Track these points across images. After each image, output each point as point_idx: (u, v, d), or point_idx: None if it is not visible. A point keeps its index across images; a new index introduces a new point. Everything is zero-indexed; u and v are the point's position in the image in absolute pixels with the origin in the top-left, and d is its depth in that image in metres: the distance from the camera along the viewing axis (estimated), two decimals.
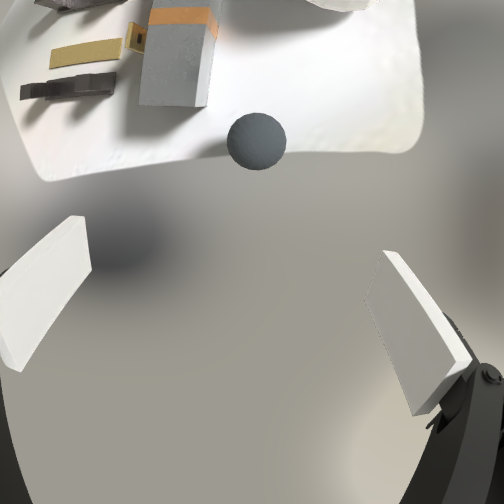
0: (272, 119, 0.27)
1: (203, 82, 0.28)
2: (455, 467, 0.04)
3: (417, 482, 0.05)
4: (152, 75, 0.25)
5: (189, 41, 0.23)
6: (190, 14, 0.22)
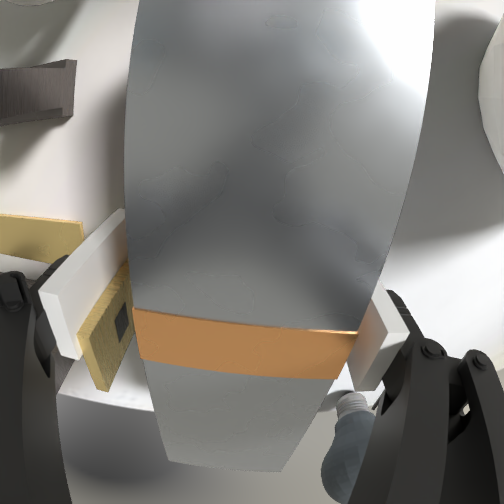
0: None
1: None
2: (400, 453, 0.04)
3: (366, 468, 0.06)
4: (187, 442, 0.11)
5: (278, 409, 0.09)
6: (288, 354, 0.08)
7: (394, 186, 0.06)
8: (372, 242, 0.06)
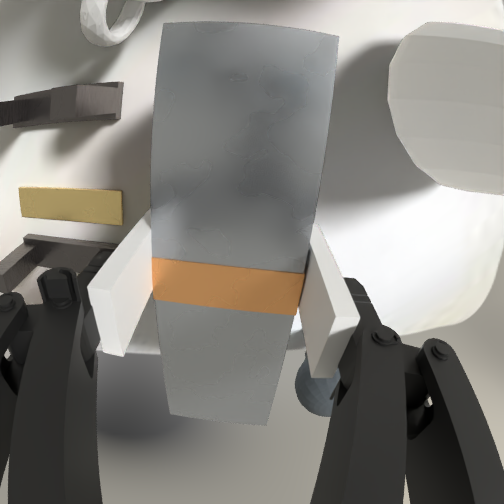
0: None
1: None
2: (354, 447, 0.05)
3: (325, 461, 0.06)
4: (186, 387, 0.15)
5: (255, 345, 0.13)
6: (256, 289, 0.12)
7: (313, 169, 0.10)
8: (303, 206, 0.11)
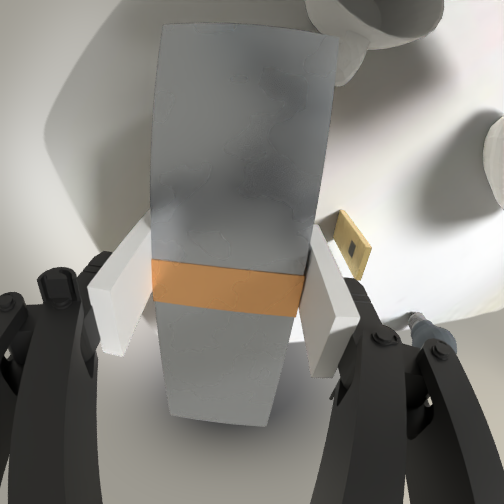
0: (454, 341, 0.27)
1: None
2: (354, 447, 0.05)
3: (325, 461, 0.06)
4: (186, 388, 0.15)
5: (255, 347, 0.13)
6: (256, 291, 0.12)
7: (313, 171, 0.10)
8: (303, 208, 0.10)
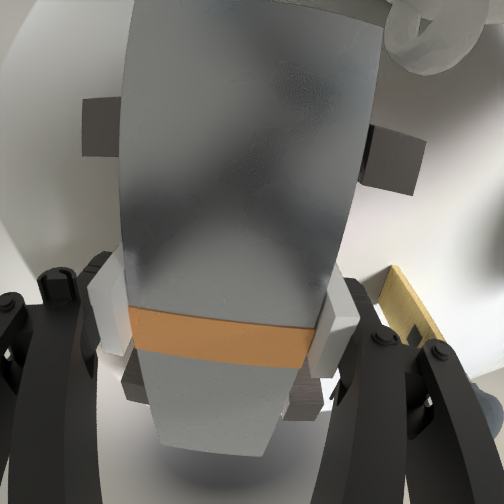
0: (502, 412, 0.17)
1: None
2: (354, 447, 0.05)
3: (325, 461, 0.06)
4: (176, 424, 0.13)
5: (253, 394, 0.11)
6: (256, 345, 0.10)
7: (337, 210, 0.07)
8: (320, 255, 0.08)
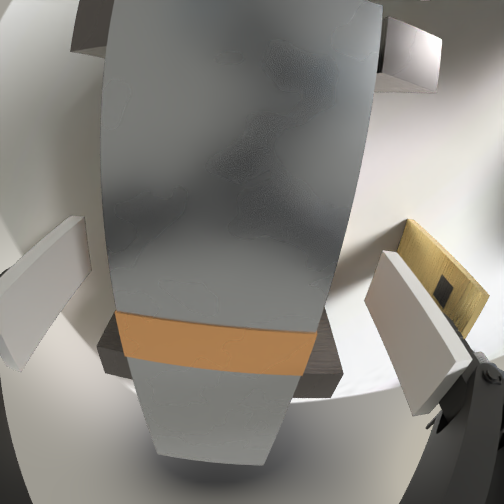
0: None
1: None
2: (455, 467, 0.04)
3: (417, 482, 0.05)
4: (173, 435, 0.12)
5: (252, 403, 0.10)
6: (253, 351, 0.09)
7: (339, 201, 0.07)
8: (321, 252, 0.07)
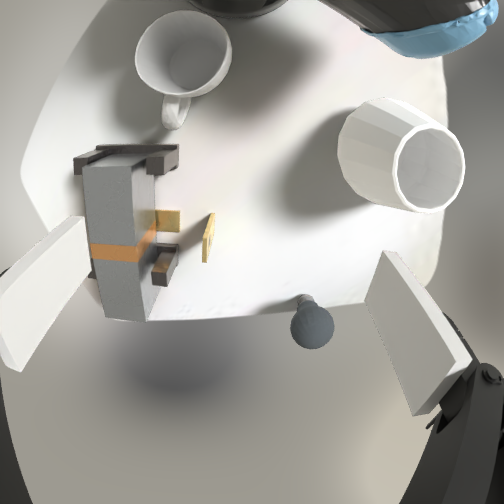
0: (326, 317, 0.38)
1: (150, 290, 0.38)
2: (455, 467, 0.04)
3: (416, 481, 0.05)
4: (108, 298, 0.35)
5: (128, 276, 0.33)
6: (122, 252, 0.32)
7: (130, 211, 0.30)
8: (130, 223, 0.30)
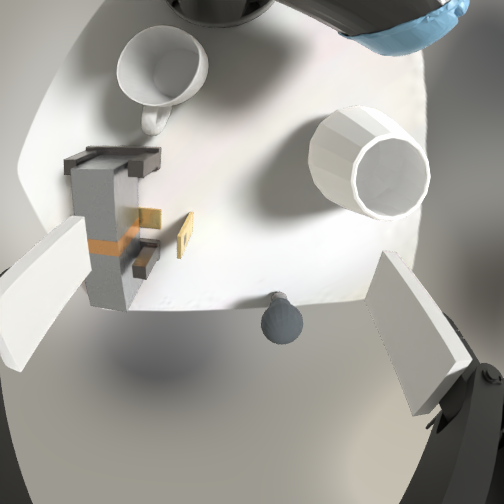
0: (294, 315, 0.40)
1: (132, 282, 0.41)
2: (455, 467, 0.04)
3: (416, 482, 0.05)
4: (93, 289, 0.37)
5: (110, 268, 0.36)
6: (105, 247, 0.34)
7: (112, 210, 0.32)
8: (112, 221, 0.33)
